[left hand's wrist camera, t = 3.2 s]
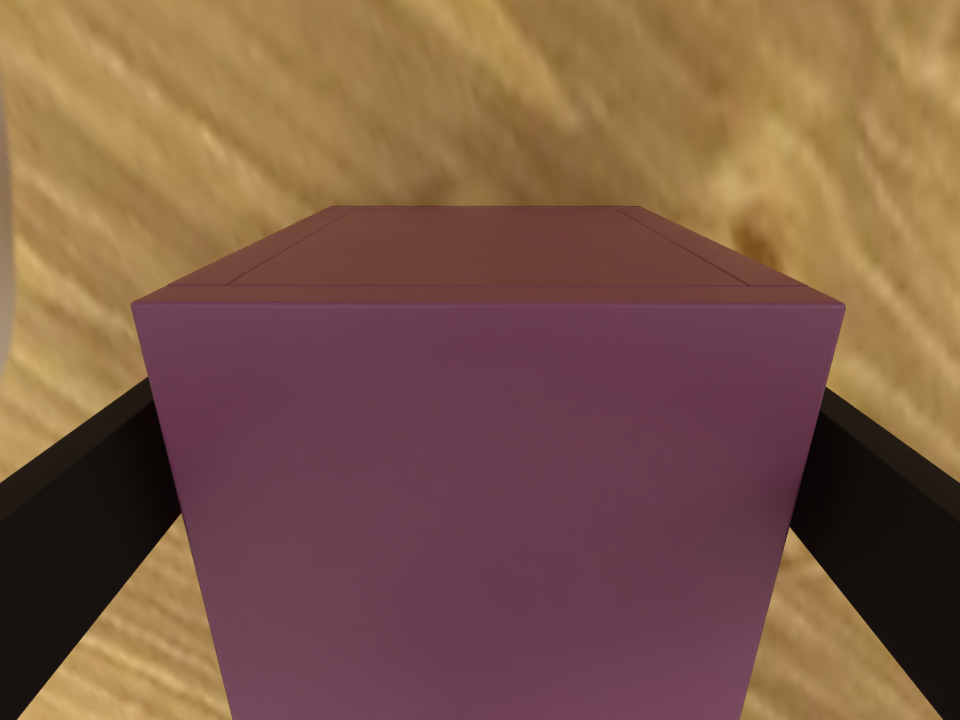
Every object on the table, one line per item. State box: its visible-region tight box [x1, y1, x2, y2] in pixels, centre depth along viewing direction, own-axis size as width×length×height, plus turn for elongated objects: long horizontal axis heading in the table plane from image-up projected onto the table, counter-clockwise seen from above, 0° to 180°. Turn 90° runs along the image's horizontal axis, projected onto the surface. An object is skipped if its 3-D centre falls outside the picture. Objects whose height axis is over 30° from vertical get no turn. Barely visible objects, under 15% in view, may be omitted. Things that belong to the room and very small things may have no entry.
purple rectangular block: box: [131, 206, 846, 720], centre depth 18 cm, size 20×11×12 cm, turn 0°
